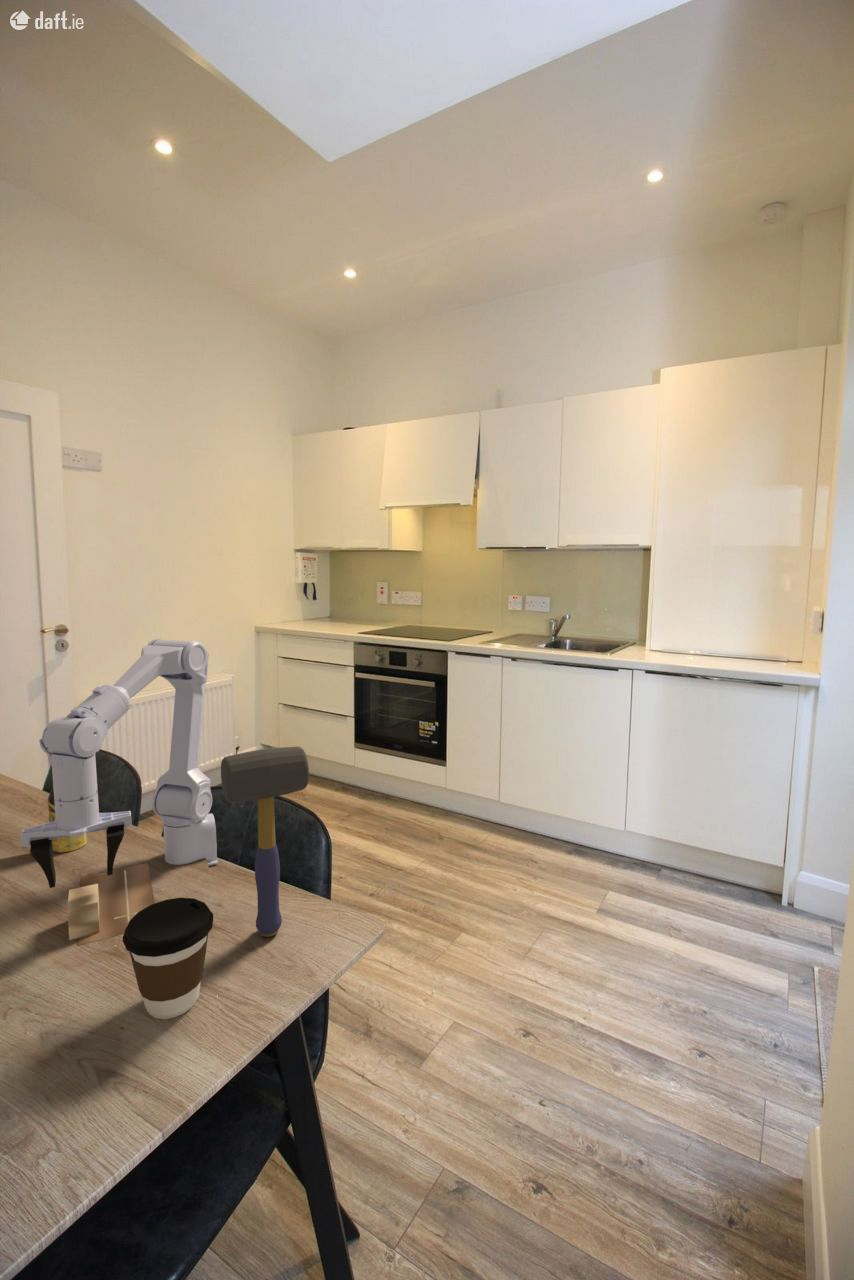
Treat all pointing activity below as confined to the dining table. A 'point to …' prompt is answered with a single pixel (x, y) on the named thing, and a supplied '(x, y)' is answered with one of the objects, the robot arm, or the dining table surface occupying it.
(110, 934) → the walnut board
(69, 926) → the light wooden block
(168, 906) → the coffee cup
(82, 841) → the sauce bottle
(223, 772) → the rubber mallet
